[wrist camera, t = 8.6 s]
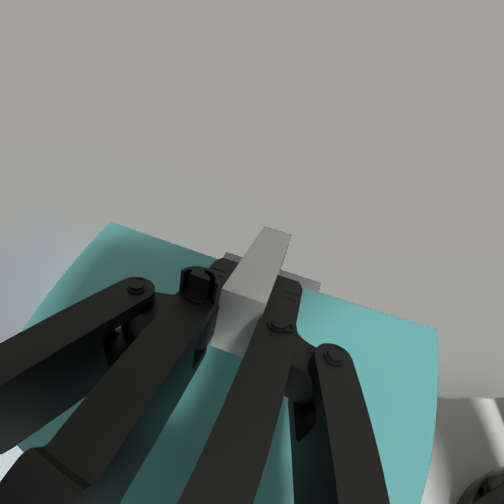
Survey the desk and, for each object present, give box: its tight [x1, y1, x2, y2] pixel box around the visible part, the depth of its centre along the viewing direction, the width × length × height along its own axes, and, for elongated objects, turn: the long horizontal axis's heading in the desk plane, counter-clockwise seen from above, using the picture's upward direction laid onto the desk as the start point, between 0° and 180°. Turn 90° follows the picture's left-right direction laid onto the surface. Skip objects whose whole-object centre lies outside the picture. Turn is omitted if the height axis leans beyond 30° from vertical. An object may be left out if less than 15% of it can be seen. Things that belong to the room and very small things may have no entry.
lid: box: [17, 222, 438, 504], centre depth 12 cm, size 23×16×3 cm
